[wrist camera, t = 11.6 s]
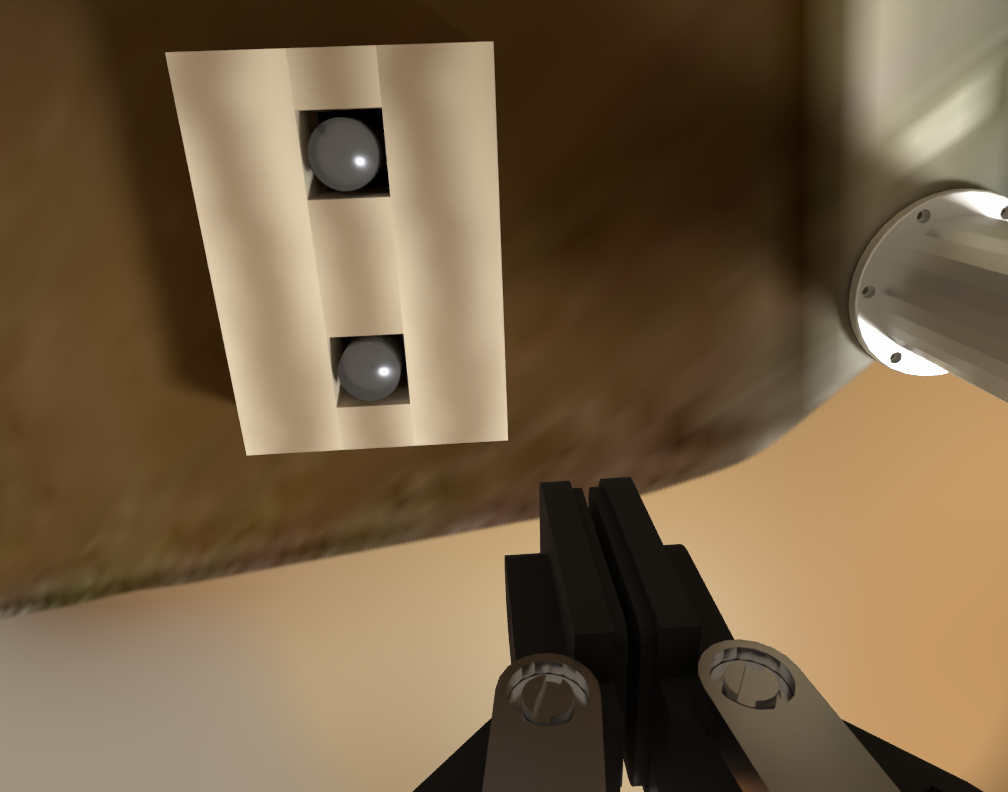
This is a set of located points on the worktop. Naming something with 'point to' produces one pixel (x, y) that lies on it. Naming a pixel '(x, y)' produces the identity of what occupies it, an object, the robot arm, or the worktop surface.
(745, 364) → the worktop surface
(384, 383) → the peg
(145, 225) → the worktop surface
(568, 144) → the worktop surface
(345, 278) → the maple block
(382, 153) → the peg
